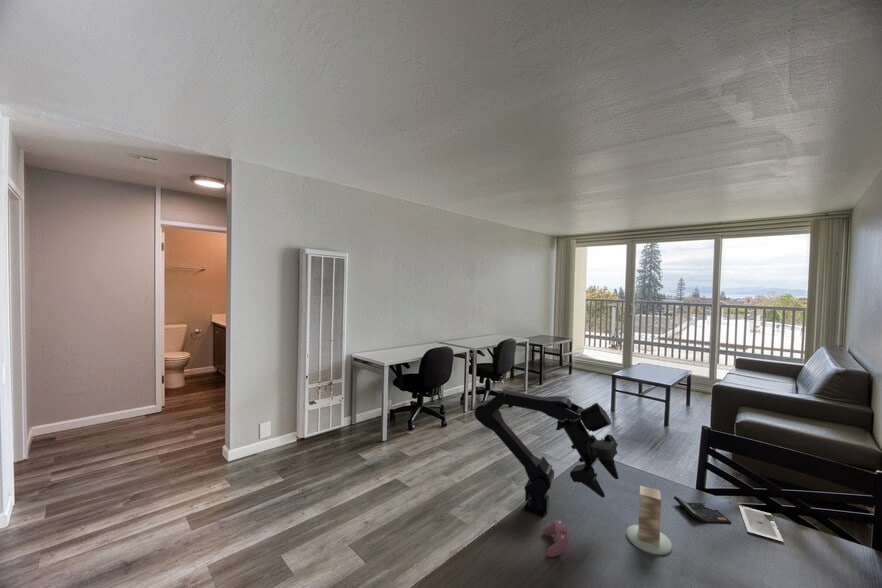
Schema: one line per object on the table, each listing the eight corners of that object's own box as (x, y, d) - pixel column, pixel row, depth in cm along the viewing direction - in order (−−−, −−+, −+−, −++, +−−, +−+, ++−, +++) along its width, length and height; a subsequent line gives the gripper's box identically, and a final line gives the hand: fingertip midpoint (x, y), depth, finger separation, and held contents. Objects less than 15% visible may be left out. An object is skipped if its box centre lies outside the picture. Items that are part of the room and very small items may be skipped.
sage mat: (624, 544, 101) (624, 541, 101) (628, 522, 110) (629, 520, 110) (671, 561, 95) (671, 558, 95) (671, 537, 104) (672, 534, 104)
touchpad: (747, 535, 106) (747, 527, 106) (738, 508, 119) (738, 502, 119) (783, 545, 102) (783, 538, 102) (770, 516, 115) (770, 510, 115)
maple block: (638, 540, 101) (640, 494, 101) (638, 529, 106) (639, 485, 105) (659, 546, 99) (661, 499, 99) (658, 535, 103) (659, 490, 103)
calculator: (731, 524, 110) (731, 514, 110) (692, 523, 111) (692, 513, 111) (708, 505, 120) (709, 496, 120) (673, 504, 120) (673, 495, 120)
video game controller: (560, 565, 95) (574, 544, 94) (544, 555, 95) (558, 534, 94) (555, 539, 104) (567, 519, 104) (541, 530, 105) (553, 510, 104)
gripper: (586, 448, 98) (620, 505, 94) (615, 417, 110) (647, 466, 106) (556, 455, 106) (587, 507, 102) (586, 425, 118) (615, 471, 114)
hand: (610, 487), depth 106 cm, fingers open, 9 cm apart
